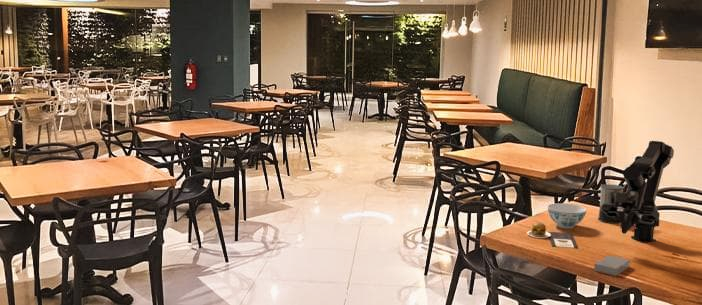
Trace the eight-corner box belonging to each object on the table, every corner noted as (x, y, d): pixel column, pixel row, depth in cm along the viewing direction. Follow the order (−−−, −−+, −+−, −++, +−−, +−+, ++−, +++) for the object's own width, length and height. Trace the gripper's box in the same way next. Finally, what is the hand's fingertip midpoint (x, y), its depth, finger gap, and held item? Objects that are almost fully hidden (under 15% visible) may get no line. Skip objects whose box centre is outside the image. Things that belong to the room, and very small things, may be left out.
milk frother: (593, 218, 273) (595, 184, 270) (624, 216, 277) (627, 182, 274) (614, 227, 259) (617, 192, 257) (647, 225, 263) (651, 190, 261)
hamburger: (551, 243, 239) (552, 229, 238) (519, 238, 245) (520, 224, 244) (557, 234, 249) (558, 221, 249) (526, 230, 255) (527, 217, 254)
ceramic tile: (608, 255, 218) (594, 263, 209) (629, 259, 213) (616, 268, 204) (608, 263, 218) (593, 271, 209) (629, 268, 213) (615, 277, 205)
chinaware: (580, 233, 250) (582, 214, 248) (541, 227, 258) (543, 209, 256) (588, 224, 262) (590, 206, 261) (551, 219, 270) (552, 201, 269)
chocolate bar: (571, 233, 249) (578, 247, 232) (571, 235, 249) (577, 250, 232) (547, 231, 251) (552, 245, 234) (547, 233, 251) (552, 248, 234)
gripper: (600, 181, 229) (587, 220, 224) (652, 183, 215) (640, 224, 210) (613, 196, 235) (602, 234, 230) (665, 199, 221) (654, 239, 216)
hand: (623, 233), depth 221 cm, fingers closed
